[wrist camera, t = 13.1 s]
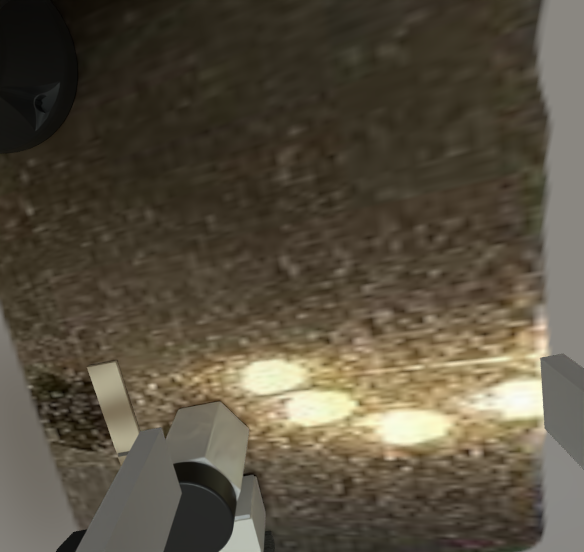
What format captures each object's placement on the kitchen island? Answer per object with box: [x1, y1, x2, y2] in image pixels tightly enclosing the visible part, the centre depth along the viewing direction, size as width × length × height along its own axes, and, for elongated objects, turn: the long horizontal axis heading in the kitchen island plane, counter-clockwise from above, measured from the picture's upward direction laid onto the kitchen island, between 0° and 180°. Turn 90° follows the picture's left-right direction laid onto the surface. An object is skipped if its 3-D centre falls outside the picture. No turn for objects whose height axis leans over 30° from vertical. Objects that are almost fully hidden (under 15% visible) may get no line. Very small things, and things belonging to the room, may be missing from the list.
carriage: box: [219, 475, 266, 552], centre depth 47 cm, size 5×13×6 cm, turn 101°
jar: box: [163, 401, 249, 552], centre depth 42 cm, size 9×8×12 cm
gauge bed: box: [87, 360, 140, 466], centre depth 49 cm, size 24×3×1 cm, turn 11°
